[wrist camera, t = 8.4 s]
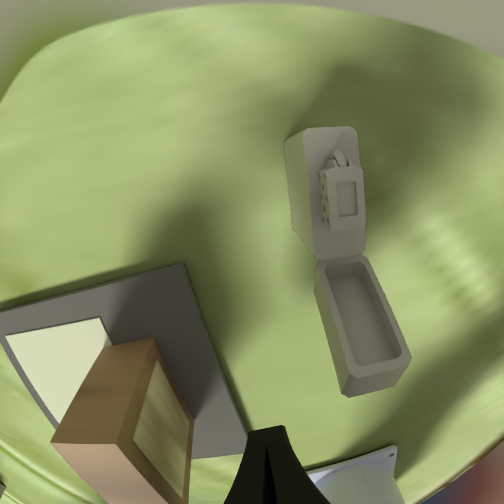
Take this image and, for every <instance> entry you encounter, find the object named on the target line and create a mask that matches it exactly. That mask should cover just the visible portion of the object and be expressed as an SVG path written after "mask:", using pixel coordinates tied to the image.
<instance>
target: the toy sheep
mask: <svg viewBox="0 0 504 504" xmlns="http://www.w3.org/2000/svg"><path fill="white" fill-rule="evenodd" d="M5 489H6V487H5V486H4V485H2V484H1V483H0V499H1V497H2V495H3V493H4V491H5Z"/></svg>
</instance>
